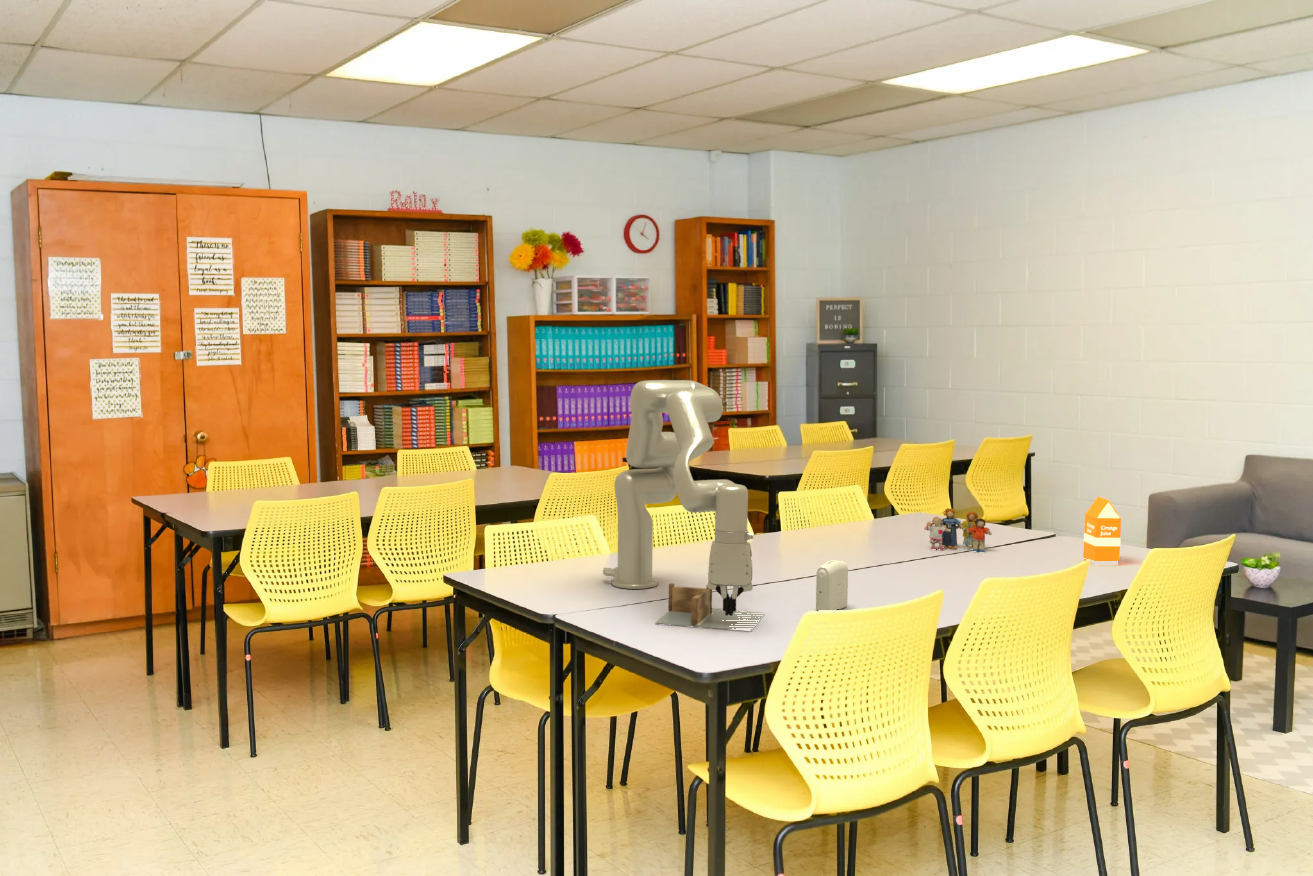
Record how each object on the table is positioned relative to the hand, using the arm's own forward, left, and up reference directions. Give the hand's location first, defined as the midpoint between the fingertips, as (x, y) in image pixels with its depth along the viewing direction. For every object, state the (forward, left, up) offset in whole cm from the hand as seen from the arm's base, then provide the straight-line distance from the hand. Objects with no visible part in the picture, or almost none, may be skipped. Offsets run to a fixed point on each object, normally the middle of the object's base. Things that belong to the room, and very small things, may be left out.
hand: (729, 614), depth 264 cm
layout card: (-5, +4, -3) cm, 7 cm away
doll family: (+50, +121, -3) cm, 131 cm away
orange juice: (+93, +111, -3) cm, 145 cm away
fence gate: (-7, +1, -2) cm, 8 cm away
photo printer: (+21, +23, -3) cm, 32 cm away
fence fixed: (-12, +8, -2) cm, 14 cm away
